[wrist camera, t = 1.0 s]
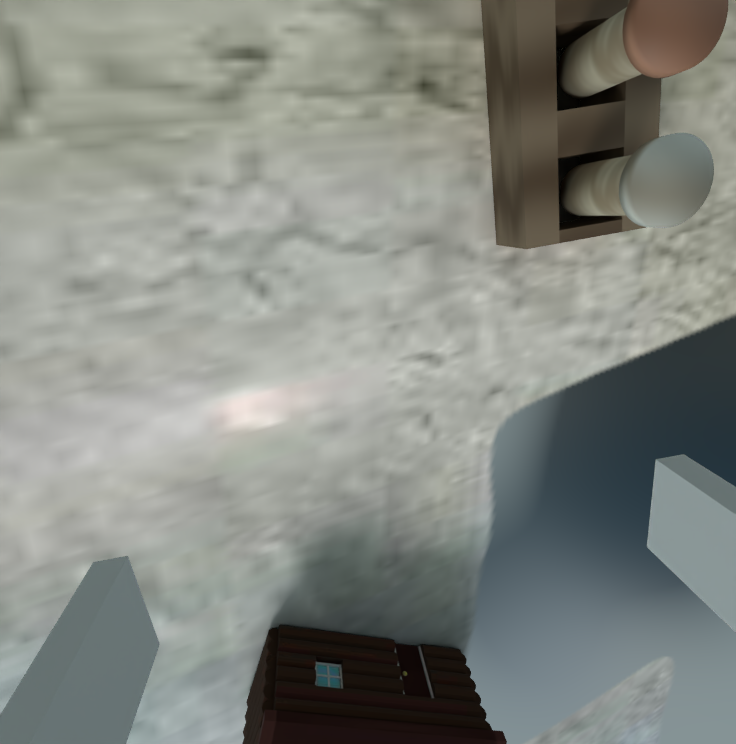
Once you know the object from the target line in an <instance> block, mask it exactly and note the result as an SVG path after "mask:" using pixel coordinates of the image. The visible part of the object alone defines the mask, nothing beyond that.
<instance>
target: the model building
mask: <svg viewBox="0 0 736 744" xmlns="http://www.w3.org/2000/svg"><path fill="white" fill-rule="evenodd" d="M465 664H466V658H465V656H464V655H463V654H462V653H461V651H460V650H459V649H453V648H446V647H438V646H430V645H423V644H421V645H420V646H411V645H404V644H396V643H395V642H394V640H390V639H383V638H375V637H368V636H360V635H353V634H345V633H337V632H330V631H322V630H315V629H307V628H300V627H292V626H285V625H279V628H278V629H277V628H272V629H270V630H269V632H268V636H267V639H266V642H265V645H264V648H263V651H262V655H261V658H260V661H259V664H258V667H257V671H256V674H255V677H254V680H253V683H252V687H251V690H250V693H249V696H248V699H247V706H248V708H247V712H246V715H245V719H246V724H245V727H244V731H243V734H244V741H243V744H506V742H507V741H506V739H505V736H504V733H503V732H502V731H493V730H492V728H491V726H490V724H489V723H487V722H486V721H485V719H486V712H485V710H484V709H483V708H482V707H481V706H480V703H481V698H480V696H479V695H478V694H477V693H476V692H475V688H476V685H475V683H474V681H473V680H472V679H471V678H470V675H471V671H470V669H469V668H468V667H467V666H466V665H465Z"/></svg>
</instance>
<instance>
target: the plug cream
mask: <svg viewBox="0 0 736 744" xmlns="http://www.w3.org/2000/svg"><path fill="white" fill-rule="evenodd" d="M713 175H714V166H713V159H712V156H711V153H710V151H709V149H708V147H707V146H706V144H705V143H704V142H703V141H702V140H701V139H699V138H698V137H696V136H694V135H692V134H688V133H675V134H670V135H666V136H662V137H657V138H654V139H652V140H649V141H648V142H646V143H644V144H643V145H641V146H640V147H639V148H638V149H637V150H636V151H635V152H634V153H633V154H632V155H629V156H624V157H618V158H613V159H608V160H602V161H597V162H592V163H587V164H581V165H578V166H576V167H574V168H572V169H571V170H570V171H569V172H568V173H567V174H566V175H565V177H564V179H563V181H562V183H561V186H560V193H559V195H560V201H561V204H562V206H563V208H564V209H565V210H566V211H567V212H568V213H570V214H572V215H576V216H627V217H628V218H629V219H630V220H631V221H632V222H634V223H635V224H637V225H640V226H643V227H658V228H667V227H673V226H676V225H679V224H681V223H683V222H685V221H686V220H688V219H689V218H691V217H692V216H693V215H694V214H695V213H696V212H697V211H698V210H699V209H700V207H701V206H702V205H703V203H704V201H705V200H706V198H707V196H708V194H709V191H710V189H711V185H712V181H713Z"/></svg>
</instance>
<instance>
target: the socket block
mask: <svg viewBox="0 0 736 744" xmlns="http://www.w3.org/2000/svg"><path fill="white" fill-rule="evenodd" d="M629 1H630V0H481V5H482V21H483V36H484V52H485V68H486V84H487V100H488V116H489V132H490V147H491V163H492V179H493V195H494V211H495V227H496V243H497V245H502V246H509V247H516V248H523V249H529V248H535V247H540V246H546V245H551V244H557V243H562V242H568V241H574V240H579V239H585V238H590V237H596V236H601V235H607V234H612V233H618V232H623V231H629V230H634V229H640V228H645V227H643V226H640V225H637V224H635V223H634V222H632V221H631V220H630V219H629V218H628V217H627V216H580V219H577V220H571V221H566V222H560V223H559V185H558V160H562V159H568V158H574V157H580V165H581V164H587V163H592V162H597V161H602V160H608V159H613V158H618V157H624V156H629V155H632V154H633V153H634V152H635V151H636V150H637V149H638V148H639V147H640V146H641V145H643V144H644V143H646V142H648V141H649V140H652V139H654V138H657V137H659V116H660V95H661V78H652V77H648V76H645V75H643V74H641V75H638V76H636V77H634V78H631V79H629V80H627V81H624V82H622V83H620V84H617V85H615V86H612V87H610V88H608V89H605V90H603V91H601V92H598V93H596V94H594V95H591V96H589V97H586V98H583V99H580V108H574V109H568V110H562V111H557V75H556V49H557V48H563V47H568V46H569V45H570V44H571V43H572V42H574V41H575V40H577V39H578V38H580V37H582V36H583V35H585V34H586V33H588V32H589V31H591V30H592V29H594V28H595V27H597V26H598V25H600V24H602V23H603V22H605V21H606V20H608V19H609V18H611V17H612V16H614V15H615V14H617V13H618V12H620V11H622V10H623V9H625V8H626V7H627V6H628V3H629Z"/></svg>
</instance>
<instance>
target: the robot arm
mask: <svg viewBox="0 0 736 744" xmlns="http://www.w3.org/2000/svg"><path fill="white" fill-rule="evenodd" d="M647 547H648V548H649V549H650V550H651V551H652V552H653V553H654V554H655V555H656V556H657V557H658V558H659V559H660V560H661V561H662V562H663V563H664V564H665V565H666V566H667V567H668V568H669V569H670V570H671V571H672V572H673V573H675V574H676V575H677V576H678V577H679V578H680V579H681V580H682V581H683V582H684V583H685V584H686V585H687V586H688V587H689V588H690V589H691V590H692V591H693V592H694V593H695V594H696V595H697V596H698V597H699V598H701V600H703V601H704V602H705V603H706V604H707V605H708V606H709V607H710V608H711V609H712V610H713V611H714V612H715V613H716V614H717V615H718V616H719V617H720V618H721V619H722V620H723V621H724V622H726V624H727V625H728V626H730V627H731V628H732V629H733V630H734V631H735V632H736V487H735V486H733V485H732V484H730V483H728V482H727V481H725V480H724V479H722V478H720V477H719V476H717V475H715V474H714V473H712V472H711V471H709V470H708V469H706V468H704V467H703V466H701V465H700V464H698V463H696V462H695V461H693V460H692V459H690V458H688V457H687V456H685V455H678V456H673V457H667V458H662V459H656V464H655V474H654V483H653V493H652V503H651V513H650V522H649V532H648V542H647ZM158 647H159V641H158V638H157V635H156V633H155V630H154V627H153V624H152V622H151V619H150V616H149V613H148V611H147V608H146V605H145V602H144V600H143V597H142V594H141V591H140V588H139V586H138V583H137V580H136V577H135V575H134V572H133V569H132V566H131V564H130V561H129V558H128V556H125V557H119V558H114V559H108V560H103V561H97V562H93V564H92V565H91V567H90V569H89V570H88V572H87V574H86V575H85V577H84V579H83V580H82V582H81V584H80V585H79V587H78V588H77V590H76V592H75V593H74V595H73V597H72V598H71V600H70V602H69V603H68V605H67V606H66V608H65V610H64V611H63V613H62V615H61V616H60V618H59V620H58V621H57V623H56V625H55V626H54V628H53V629H52V631H51V633H50V634H49V636H48V638H47V639H46V641H45V643H44V644H43V646H42V647H41V649H40V651H39V652H38V654H37V656H36V657H35V659H34V661H33V662H32V664H31V666H30V667H29V669H28V670H27V672H26V674H25V675H24V677H23V679H22V680H21V682H20V684H19V685H18V687H17V688H16V690H15V692H14V693H13V695H12V697H11V698H10V700H9V702H8V703H7V705H6V707H5V708H4V710H3V711H2V713H1V715H0V744H126V742H127V739H128V736H129V733H130V730H131V727H132V724H133V721H134V718H135V715H136V712H137V709H138V707H139V704H140V701H141V698H142V695H143V692H144V689H145V686H146V683H147V680H148V677H149V674H150V671H151V668H152V665H153V662H154V659H155V656H156V653H157V650H158Z"/></svg>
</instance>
